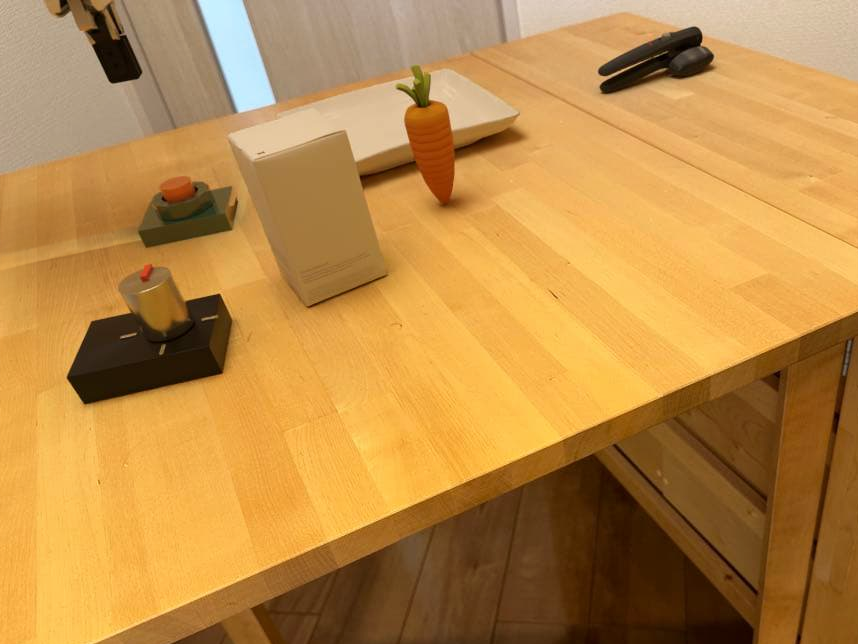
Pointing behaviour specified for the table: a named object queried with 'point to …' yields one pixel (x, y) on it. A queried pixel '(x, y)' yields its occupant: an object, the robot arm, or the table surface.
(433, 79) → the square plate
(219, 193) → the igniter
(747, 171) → the table surface
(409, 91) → the carrot
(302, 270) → the white product box
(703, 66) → the can opener
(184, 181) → the button
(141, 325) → the burner knob
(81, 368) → the stove panel
